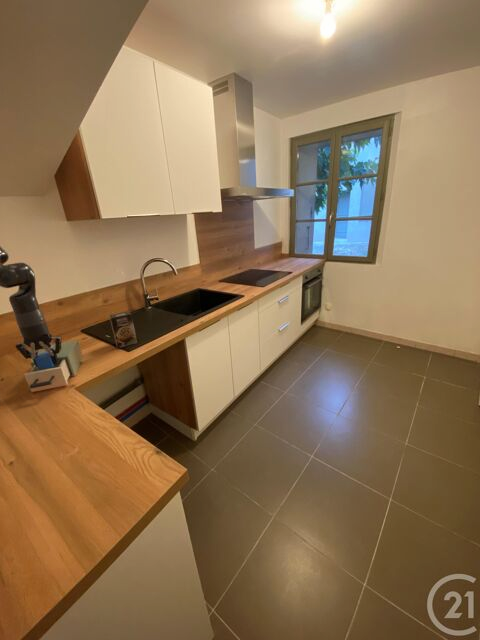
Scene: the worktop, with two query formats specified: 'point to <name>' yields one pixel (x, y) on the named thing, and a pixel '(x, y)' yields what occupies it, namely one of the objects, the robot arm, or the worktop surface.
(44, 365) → the blue cube
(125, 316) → the coffee box
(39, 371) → the dispenser drawer
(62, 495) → the worktop surface
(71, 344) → the grey-green drawer cabinet
